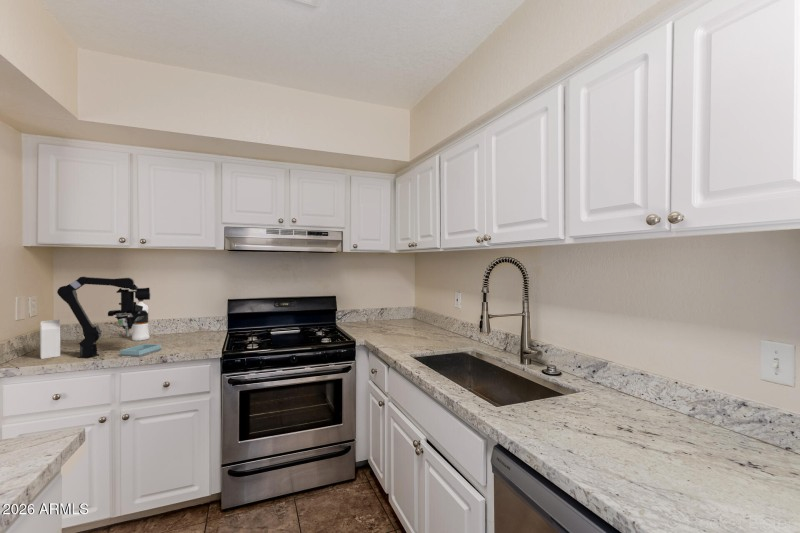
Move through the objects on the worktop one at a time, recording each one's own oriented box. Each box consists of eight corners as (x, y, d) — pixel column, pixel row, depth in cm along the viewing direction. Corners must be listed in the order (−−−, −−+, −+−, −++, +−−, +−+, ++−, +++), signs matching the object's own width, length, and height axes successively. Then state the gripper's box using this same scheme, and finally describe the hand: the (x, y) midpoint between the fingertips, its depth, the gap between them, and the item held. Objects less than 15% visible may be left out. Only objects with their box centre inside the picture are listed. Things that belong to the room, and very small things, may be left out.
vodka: (153, 338, 233) (153, 292, 233) (138, 341, 224) (138, 293, 224) (142, 337, 236) (142, 292, 235) (128, 340, 227) (128, 293, 227)
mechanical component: (137, 334, 202) (137, 316, 202) (122, 338, 192) (122, 319, 192) (132, 334, 202) (132, 316, 202) (117, 338, 192) (116, 319, 192)
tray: (120, 356, 189) (120, 350, 189) (143, 349, 204) (143, 344, 204) (139, 357, 188) (139, 351, 188) (161, 350, 203) (161, 344, 203)
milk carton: (60, 356, 188) (60, 320, 188) (41, 359, 182) (41, 322, 182) (58, 354, 193) (58, 319, 192) (40, 356, 187) (40, 320, 187)
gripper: (154, 299, 204) (154, 326, 204) (124, 298, 206) (124, 325, 206) (138, 301, 193) (138, 330, 193) (106, 300, 195) (106, 329, 195)
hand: (127, 328), depth 197 cm, fingers closed on mechanical component, 3 cm apart
